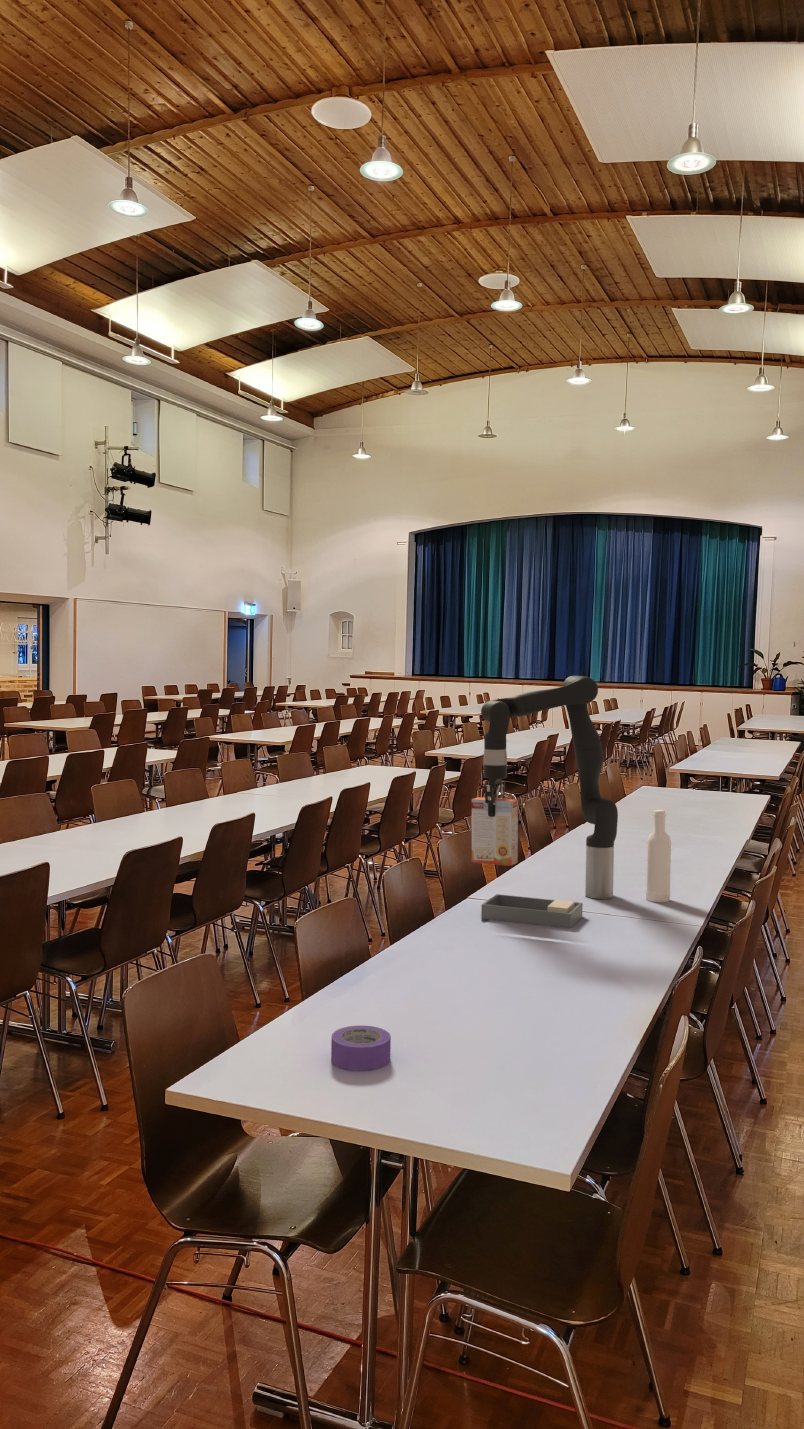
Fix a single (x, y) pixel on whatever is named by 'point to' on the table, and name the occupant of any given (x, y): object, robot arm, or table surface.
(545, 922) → the tote
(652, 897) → the bottle
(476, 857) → the cracker box
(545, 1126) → the table surface
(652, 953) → the table surface
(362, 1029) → the tape roll
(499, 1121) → the table surface
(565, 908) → the beige block
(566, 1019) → the table surface
